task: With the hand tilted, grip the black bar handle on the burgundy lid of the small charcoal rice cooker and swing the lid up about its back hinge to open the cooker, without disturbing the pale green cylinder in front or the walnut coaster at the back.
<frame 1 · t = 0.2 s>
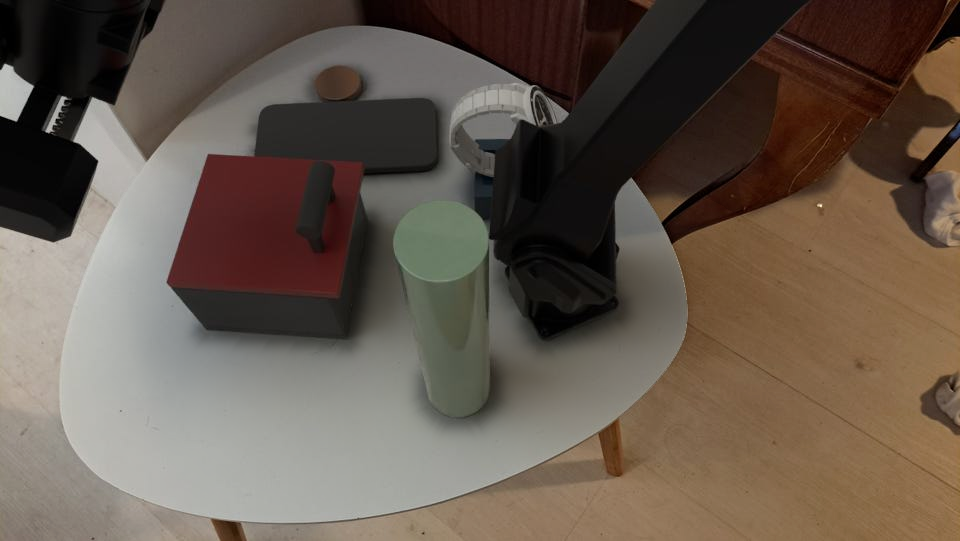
hand: (52, 142, 43), 15 cm above the table, tool tilted 35°, fingers open, 9 cm apart
cooker lid: (262, 207, 47), point 9 cm above the table, hinge at 0.0°
pale green cylinder: (458, 387, 51), on the table
watch: (503, 191, 59), on the table
rice cooker: (290, 272, 55), on the table
coaster: (339, 88, 64), on the table
phone: (348, 141, 61), on the table
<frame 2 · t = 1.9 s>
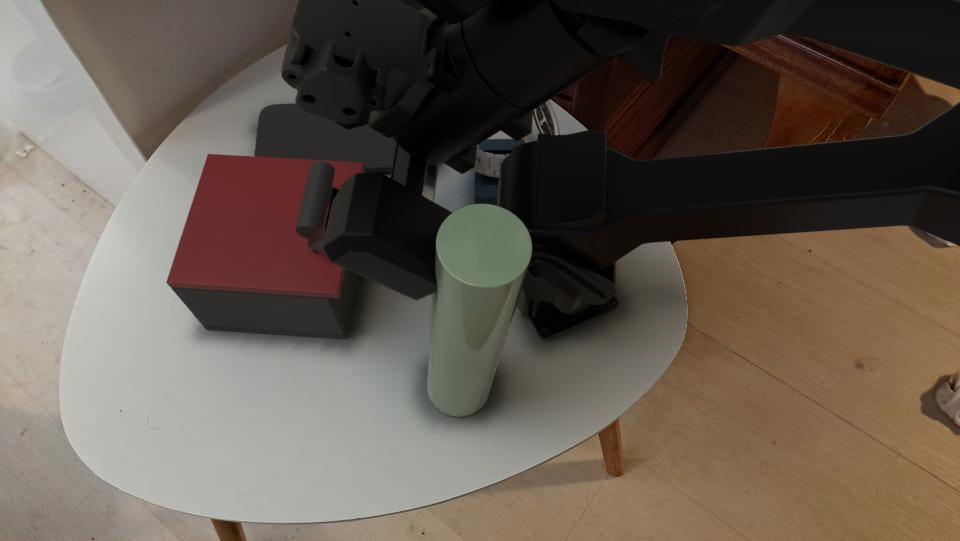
hand: (328, 182, 44), 12 cm above the table, tool tilted 45°, fingers open, 9 cm apart
pale green cylinder: (458, 386, 50), on the table, tilted 6°
everything else where it was.
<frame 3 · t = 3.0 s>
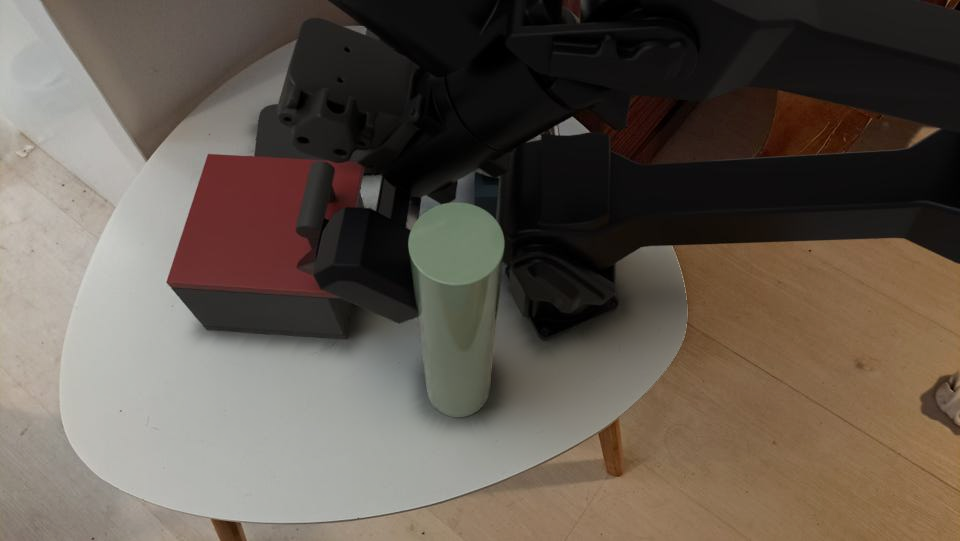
hand: (317, 207, 47), 9 cm above the table, tool tilted 45°, fingers open, 9 cm apart
pale green cylinder: (458, 386, 51), on the table, touching gripper
everything else where it was.
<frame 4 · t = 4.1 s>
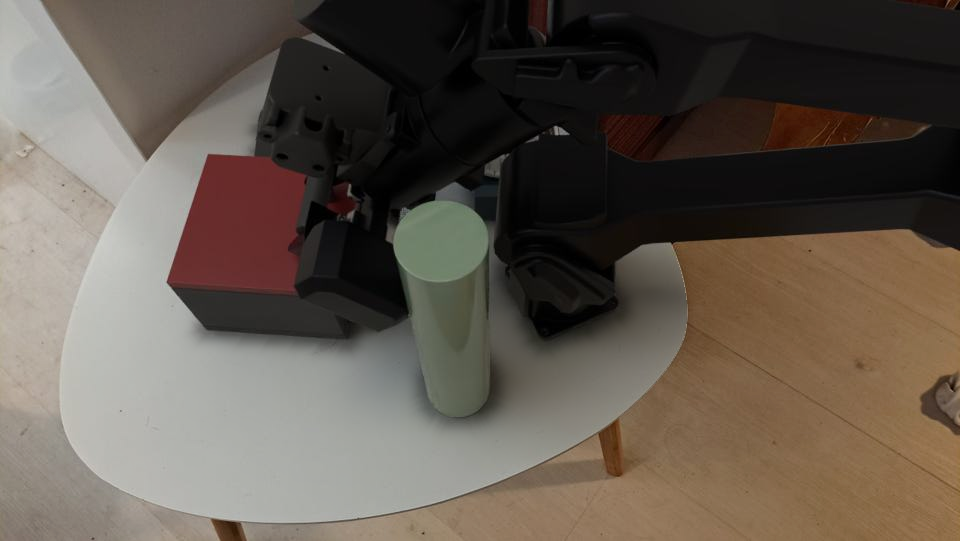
hand: (302, 217, 48), 8 cm above the table, tool tilted 45°, fingers closed on cooker lid, 5 cm apart
cooker lid: (262, 207, 47), point 9 cm above the table, hinge at 0.0°, touching gripper
pale green cylinder: (458, 387, 51), on the table
everything else where it was.
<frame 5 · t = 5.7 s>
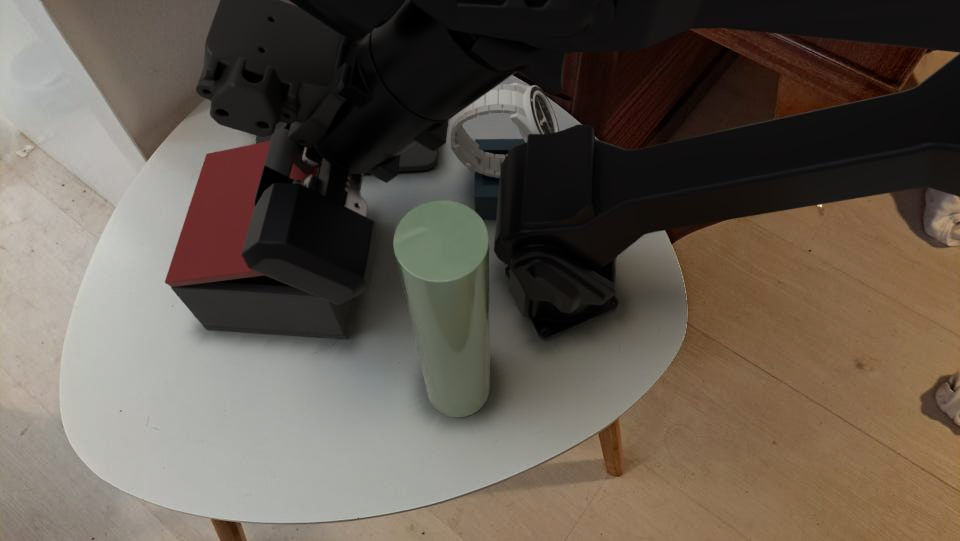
hand: (267, 190, 46), 11 cm above the table, tool tilted 45°, fingers closed on cooker lid, 5 cm apart
cooker lid: (239, 190, 46), point 11 cm above the table, hinge at 20.3°, touching gripper
everything else where it was.
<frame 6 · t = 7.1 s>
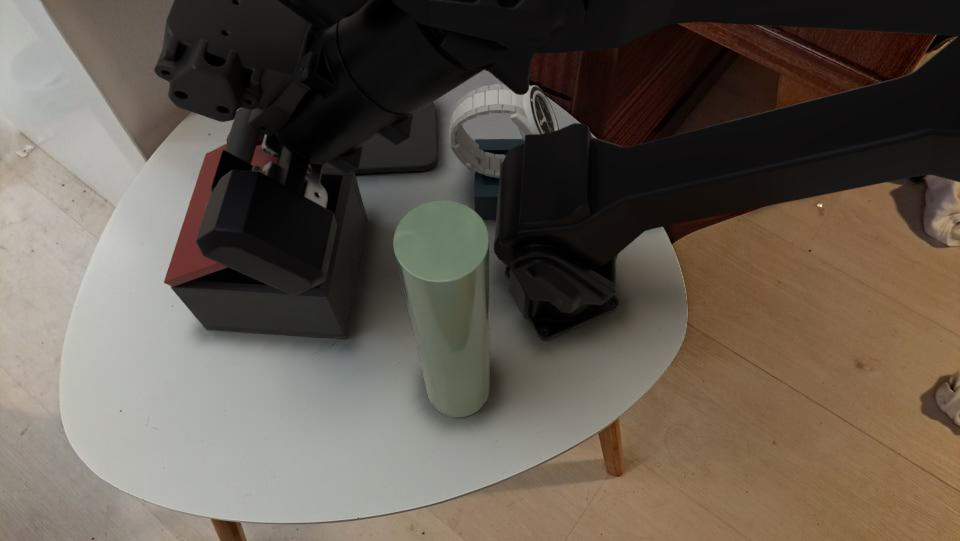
hand: (223, 176, 45), 12 cm above the table, tool tilted 45°, fingers closed on cooker lid, 5 cm apart
cooker lid: (218, 180, 45), point 12 cm above the table, hinge at 34.5°, touching gripper
everything else where it was.
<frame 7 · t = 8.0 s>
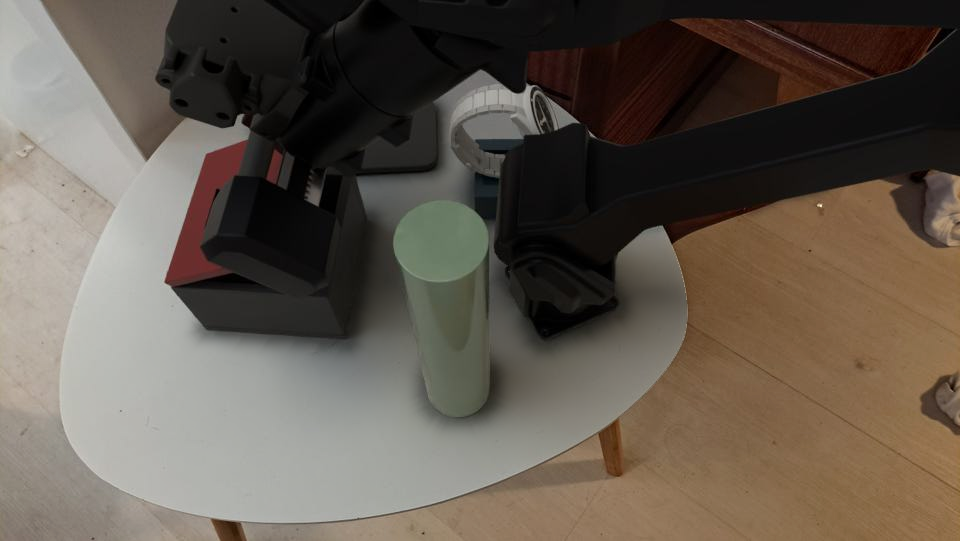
hand: (230, 182, 45), 12 cm above the table, tool tilted 45°, fingers open, 9 cm apart
cooker lid: (228, 184, 45), point 11 cm above the table, hinge at 28.2°
everything else where it was.
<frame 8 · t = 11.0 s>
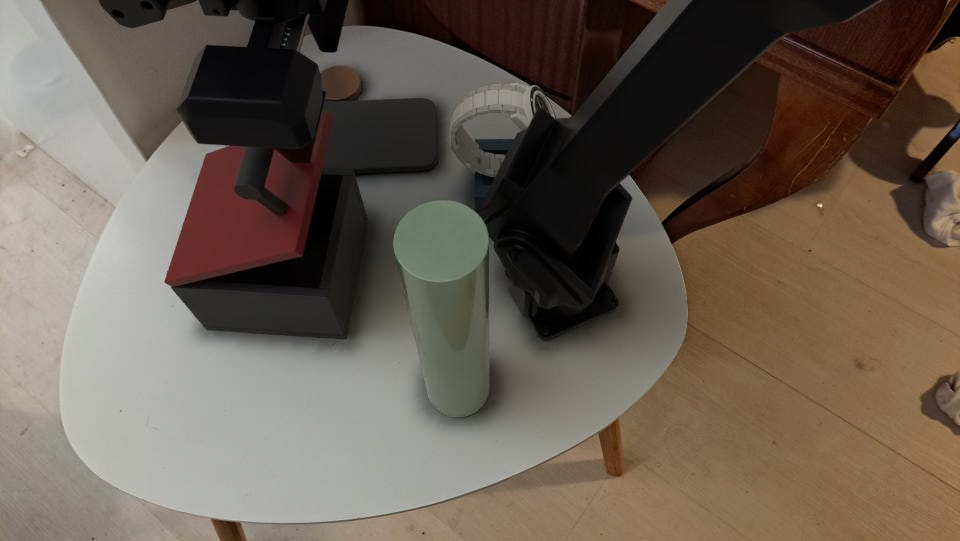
hand: (316, 103, 46), 13 cm above the table, tool pointing down, fingers open, 9 cm apart
nothing on the table moved.
at the end: cooker lid at +28° (first picture: +0°); pale green cylinder moved 0.0 cm from its start; coaster moved 0.0 cm from its start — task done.
